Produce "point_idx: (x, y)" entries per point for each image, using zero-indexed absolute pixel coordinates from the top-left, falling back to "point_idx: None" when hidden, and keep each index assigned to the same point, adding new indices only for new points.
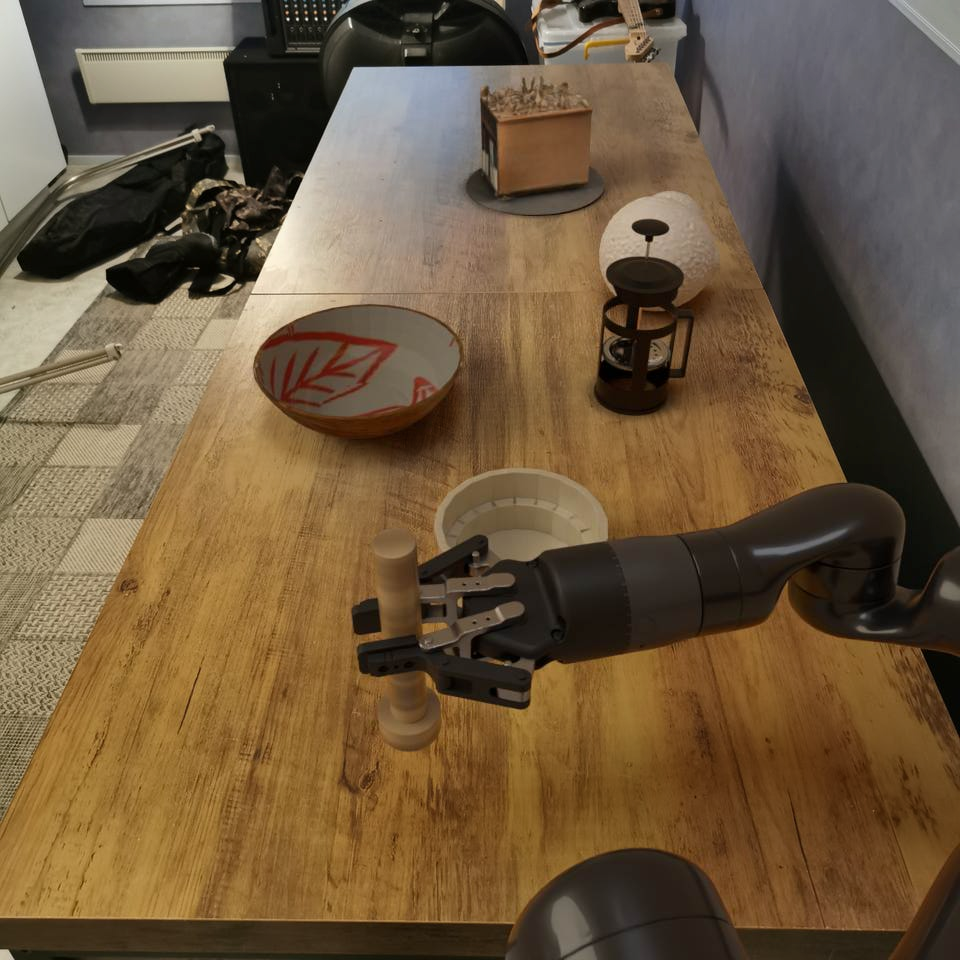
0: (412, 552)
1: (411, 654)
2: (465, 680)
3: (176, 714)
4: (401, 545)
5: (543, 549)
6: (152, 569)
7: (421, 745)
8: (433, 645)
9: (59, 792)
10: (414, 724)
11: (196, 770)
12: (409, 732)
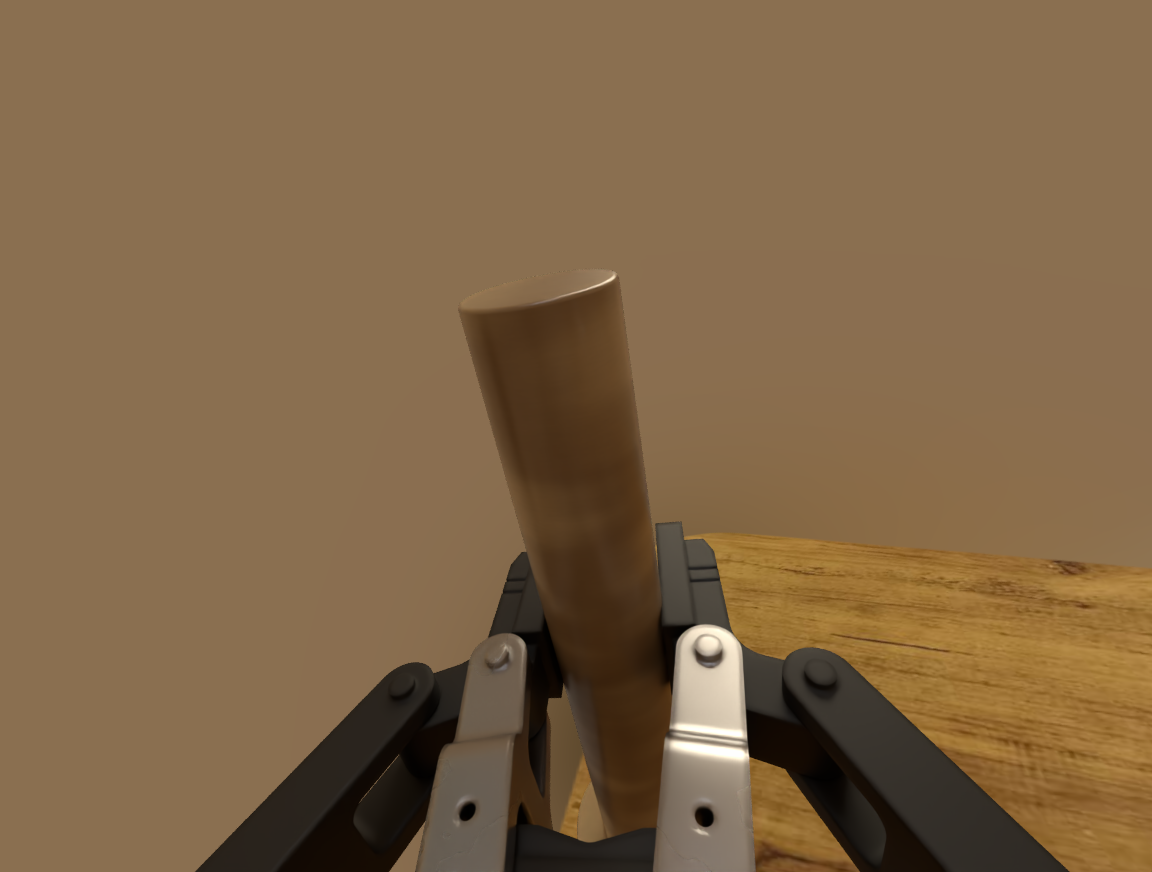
0: (470, 319)
1: (496, 628)
2: (402, 813)
3: (860, 630)
4: (510, 294)
5: None
6: (1122, 585)
7: None
8: (474, 667)
9: (751, 553)
10: (602, 828)
11: (779, 654)
12: (585, 811)
